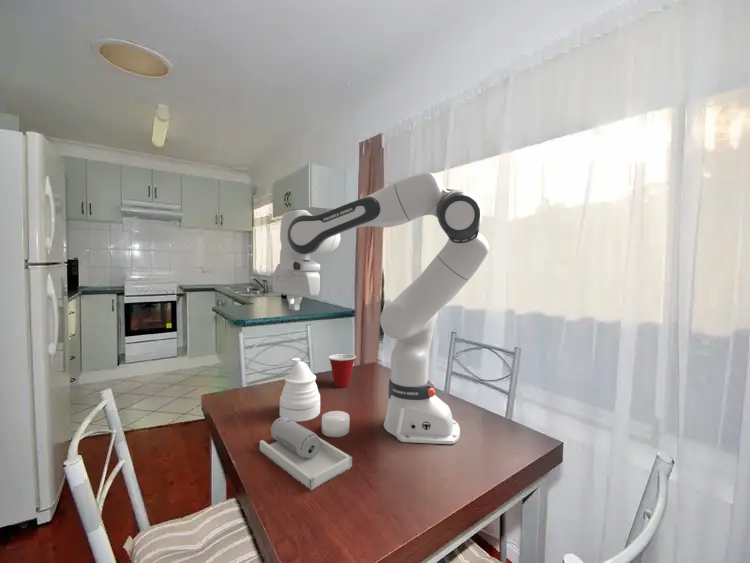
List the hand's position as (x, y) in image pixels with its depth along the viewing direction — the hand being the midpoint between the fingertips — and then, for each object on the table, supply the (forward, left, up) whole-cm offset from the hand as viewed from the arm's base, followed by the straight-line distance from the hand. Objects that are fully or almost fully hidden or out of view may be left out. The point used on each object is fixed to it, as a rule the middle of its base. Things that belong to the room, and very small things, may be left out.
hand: (294, 309), depth 105 cm
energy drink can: (-2, +12, -31) cm, 33 cm away
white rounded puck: (-15, +3, -34) cm, 37 cm away
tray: (-12, +19, -34) cm, 41 cm away
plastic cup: (-5, -32, -34) cm, 47 cm away
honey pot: (0, -5, -34) cm, 35 cm away
